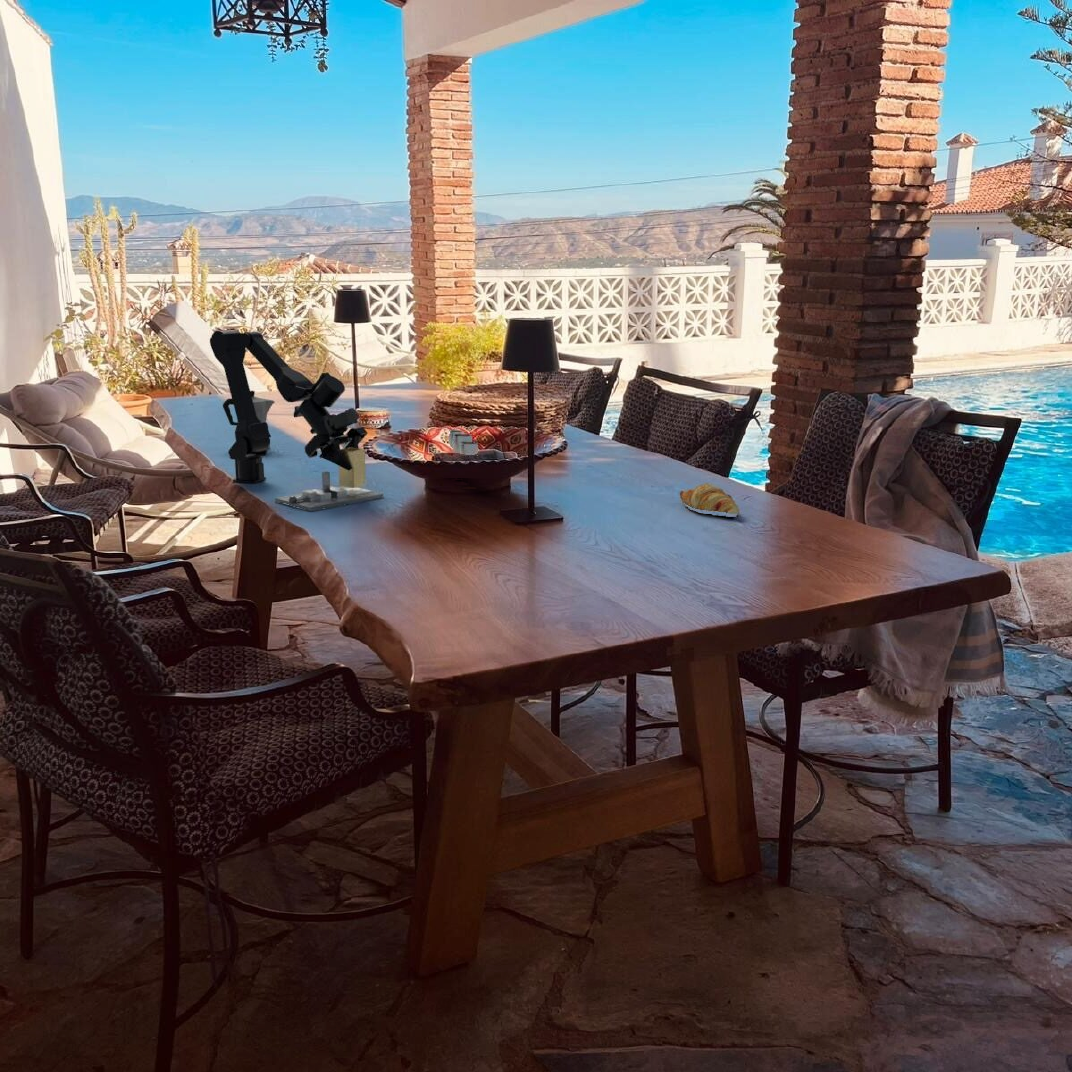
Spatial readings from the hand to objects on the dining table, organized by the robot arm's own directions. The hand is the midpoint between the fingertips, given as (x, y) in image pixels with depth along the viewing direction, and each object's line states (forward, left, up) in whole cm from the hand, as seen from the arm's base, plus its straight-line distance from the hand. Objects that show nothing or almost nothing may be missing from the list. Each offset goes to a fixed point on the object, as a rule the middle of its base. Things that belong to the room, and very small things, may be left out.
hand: (356, 467), depth 256 cm
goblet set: (+15, +29, -7) cm, 33 cm away
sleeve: (-1, 0, -5) cm, 5 cm away
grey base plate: (-5, -7, -7) cm, 11 cm away
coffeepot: (-61, +50, -7) cm, 79 cm away
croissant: (+85, +15, -8) cm, 87 cm away
